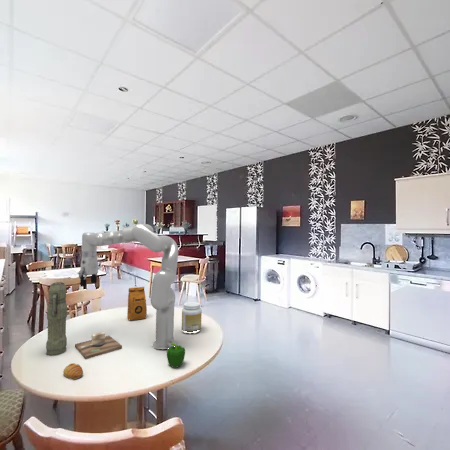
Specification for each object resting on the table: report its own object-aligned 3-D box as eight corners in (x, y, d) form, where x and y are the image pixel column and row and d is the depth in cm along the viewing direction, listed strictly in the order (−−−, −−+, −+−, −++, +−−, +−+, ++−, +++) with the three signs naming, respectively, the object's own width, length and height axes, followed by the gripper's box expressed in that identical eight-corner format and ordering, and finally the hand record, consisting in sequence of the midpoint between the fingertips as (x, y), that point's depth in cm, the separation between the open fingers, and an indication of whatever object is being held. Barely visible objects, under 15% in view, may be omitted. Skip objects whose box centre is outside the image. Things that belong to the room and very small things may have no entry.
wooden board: (122, 348, 147) (122, 345, 147) (85, 359, 135) (85, 355, 135) (109, 338, 161) (109, 335, 161) (74, 346, 148) (74, 343, 148)
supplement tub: (205, 331, 174) (205, 304, 174) (190, 336, 165) (190, 307, 165) (192, 326, 182) (193, 300, 182) (177, 331, 173) (178, 303, 173)
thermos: (67, 345, 150) (69, 280, 150) (64, 355, 139) (66, 285, 139) (48, 348, 146) (50, 281, 146) (43, 358, 135) (45, 286, 135)
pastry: (87, 376, 121) (87, 367, 121) (71, 383, 116) (71, 373, 116) (77, 368, 127) (77, 360, 127) (61, 375, 121) (61, 366, 121)
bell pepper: (188, 365, 131) (188, 344, 131) (173, 371, 126) (173, 349, 126) (178, 358, 137) (178, 338, 137) (163, 364, 132) (163, 343, 132)
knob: (102, 341, 152) (102, 331, 152) (106, 344, 148) (106, 334, 148) (79, 347, 144) (79, 336, 144) (82, 350, 140) (82, 339, 140)
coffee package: (147, 319, 193) (148, 287, 193) (128, 322, 187) (129, 289, 187) (144, 315, 202) (145, 285, 202) (126, 317, 196) (127, 286, 196)
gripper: (86, 256, 149) (85, 288, 149) (103, 253, 166) (103, 281, 166) (73, 255, 150) (72, 287, 150) (92, 252, 167) (91, 281, 167)
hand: (88, 284), depth 158 cm, fingers open, 9 cm apart
